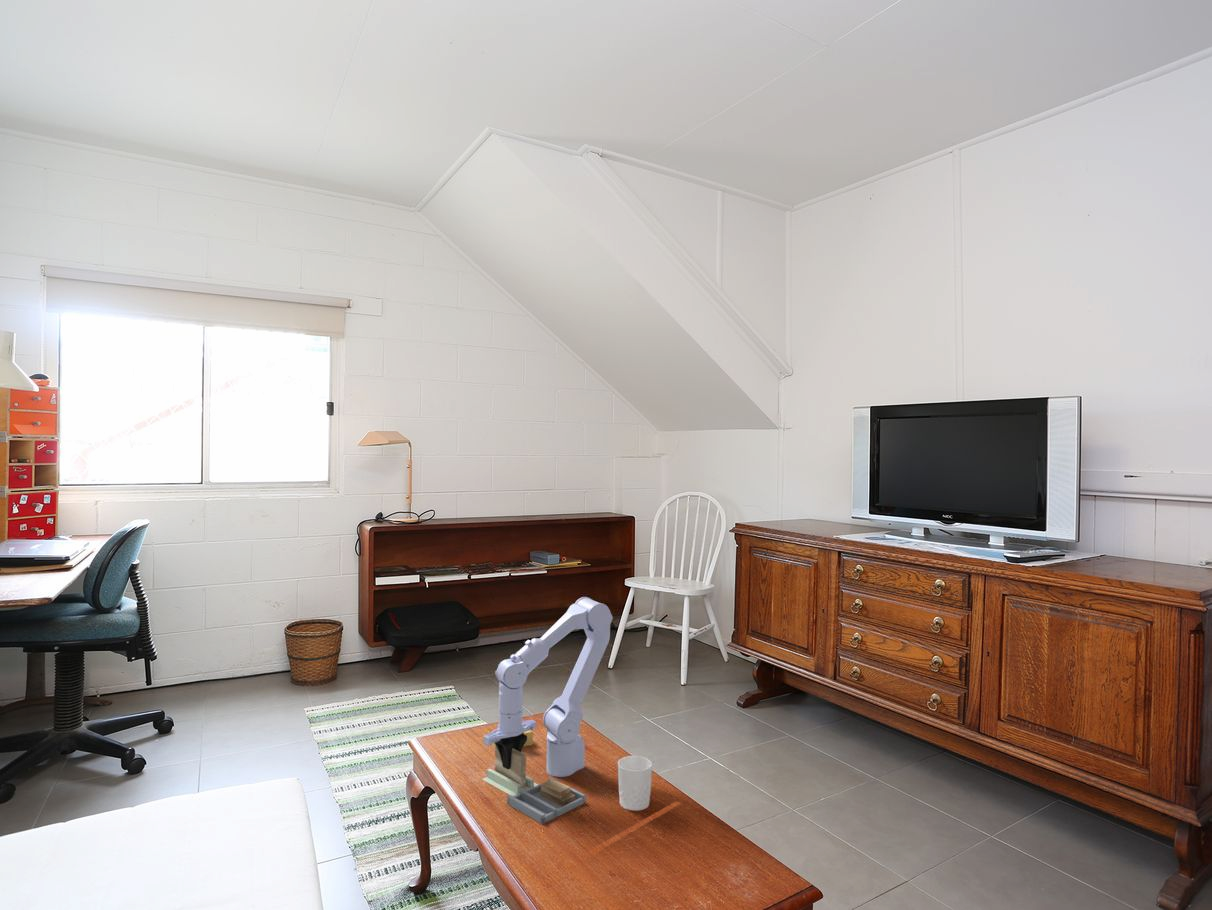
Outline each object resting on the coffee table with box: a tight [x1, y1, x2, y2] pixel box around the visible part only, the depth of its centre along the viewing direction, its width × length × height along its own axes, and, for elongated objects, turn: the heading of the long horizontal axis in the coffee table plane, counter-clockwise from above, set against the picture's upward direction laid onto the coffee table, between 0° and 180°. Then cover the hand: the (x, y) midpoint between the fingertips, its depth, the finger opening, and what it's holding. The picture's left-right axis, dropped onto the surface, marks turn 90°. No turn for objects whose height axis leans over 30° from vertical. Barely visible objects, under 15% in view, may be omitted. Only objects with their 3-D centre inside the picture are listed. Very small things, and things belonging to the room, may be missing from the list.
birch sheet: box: [494, 745, 527, 790], centre depth 172 cm, size 2×10×8 cm, turn 46°
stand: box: [481, 768, 539, 796], centre depth 172 cm, size 8×12×3 cm, turn 46°
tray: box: [507, 777, 586, 825], centre depth 162 cm, size 13×12×3 cm
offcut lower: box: [540, 789, 575, 807], centre depth 165 cm, size 4×8×1 cm, turn 46°
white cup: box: [617, 755, 653, 811], centre depth 163 cm, size 8×8×10 cm
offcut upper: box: [540, 779, 571, 798], centre depth 165 cm, size 3×6×1 cm, turn 52°
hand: (510, 766), depth 172 cm, fingers closed
